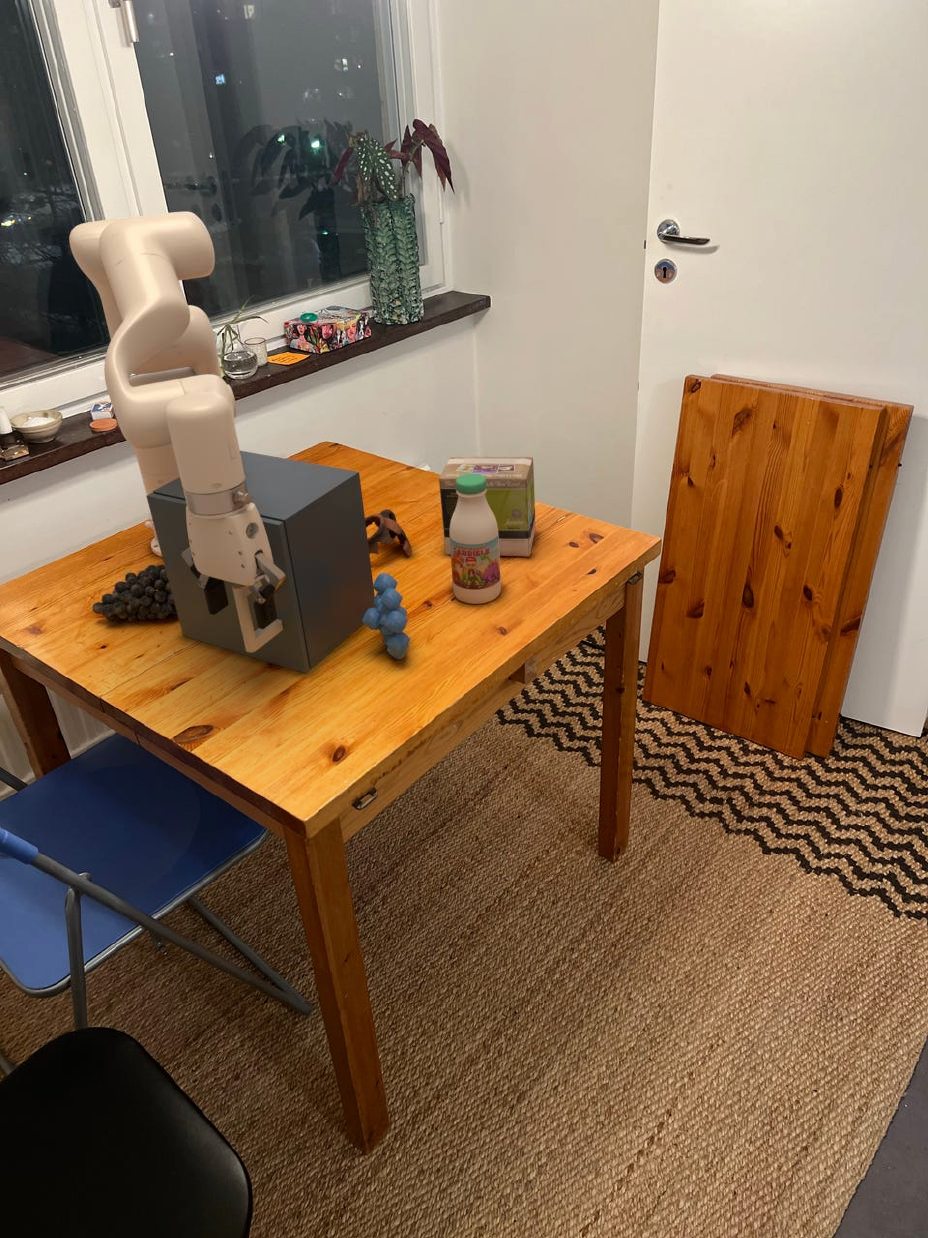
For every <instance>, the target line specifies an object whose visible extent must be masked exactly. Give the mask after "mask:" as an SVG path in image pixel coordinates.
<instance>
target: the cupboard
mask: <svg viewBox="0 0 928 1238" xmlns="http://www.w3.org/2000/svg"><path fill="white" fill-rule="evenodd" d="M240 454H241V459H242V464H243V469H244V475H245V479H246V484H247V489H248V493H250V494H251V495H252V501H251V503H254V504H255V506H256V508H257V510H258V512H259V514H260V517H263V518H267V519H272V520H277V521H281V522H284V528H285V533H286V539H287V545H288V550H289V556H290V561H291V567H292V572H293V578H294V584H295V589H296V595H297V600H298V606H299V611H300V617H301V623H302V628H303V634H304V639H305V645H306V651H307V656H308V662H309V667H310V670H313V669H314V668H315V667H316V666H317V665H318V664H320V663H321V662H322V661H323V660H324V659H326V658H327V657H328V656H329V655H330V654H331V653H332V652H334V651H335V650H336V649H337V648H339V646H341V645H342V644H343V643H344V642H345V641H346V640H348V638H350V637H351V636H352V635H353V634H354V633H356V632H357V631H358V630H359V629H360V628H361V627H362V626H364V625H365V624H364V623H363V622H362V620H363V617H364V615H365V613H366V611H367V610H368V609H369V608H375V607H376V605H375V604H374V598H375V596H376V594H375V589H374V588H373V584H374V578H373V571H372V570H373V569H372V562H371V556H370V555H371V553H370V554H369V546H368V538H369V537H368V531H367V528H366V522H365V518H366V515H365V507H364V500H363V492H362V483H361V475H360V471H356V470H352V469H351V470H350V469H345V468H339V467H335V466H329V465H322V464H317V463H312V462H306V461H300V460H295V459H291V458H283V457H278V456H273V455H267V454H261V453H256V452H250V451H245V450H240ZM153 494H158V495H162V496H167V497H172V498H176V499H181V500H185V501H186V499H185V495H184V491H183V487H182V483H181V479H180V477H179V478H177V479H175V480H173V481H171V482H169V483H167V484H165V485H163V486H162V487H160V488H158V489H156V490H154V491H153Z"/></svg>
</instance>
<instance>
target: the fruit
mask: <svg viewBox="0 0 928 1238" xmlns="http://www.w3.org/2000/svg"><path fill="white" fill-rule="evenodd" d="M124 580H125V581H120V580H119V581H117V582H116V583H115V584H114V589H113V590H112V593H109V592H108V593H104V594H103V595H102V596H101V601H97V602H95V603H93V604H92V606H91V607H92V609H91V610H92V611H93V613H94V614H96V615H102V616H103V617H105V619H106V621H109V622H111V623H114V622H116V621H117V620H125V619H128V621H129V622H131V623H136V622H137V621H138V620H139V619H140V620H141V621H142V620H146V619H147V618H149V619H155V618H157V619H158V620H165V619H167V616H168V615H171V614H173V615H177V611H176V607H175V603H174V599H173V596H172V592H171V588H170V584H169V580H168V577H167V573H166V569H165V565H164V564H156V565H154V564H150V565H147V566H146V568H144V570H141V571H139V572H138V574H136V573H135V572H127V573H126V574H125V575H124Z"/></svg>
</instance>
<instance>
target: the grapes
mask: <svg viewBox="0 0 928 1238" xmlns="http://www.w3.org/2000/svg"><path fill="white" fill-rule="evenodd" d="M397 586H398V580H396V579H395V578H394V577H393V576H392V575H390V574H389V573H379V574H378V575H377V577H375V580H374V581H373V588H374V591H376V594H375V598H374V604H375V605H376V607H375V608H369V609H368V610H367V611H366V613H365V615H364V617H363V620H362V622H363V623H364V625H365V626H366V627H367V628H369V629H370V630H371V631H377V630H378V631H379V632H380V633H379V634H380V635H382V636H383V639H382V643H383V644H384V645H385V646H386V651H387V653H388V654H389V655H391V657H393V658H394V659H396V660H402V659H404V658H405V656H406V655H407V652H408V649H409V648H410V645H409V644H410V642H411V638H410V637H409V636H408V635H407V634H406V633H405V632H404V631H405V629H406V626H407V624H408V621H409V619H408V618H407V614H408V611H407V609H405V608H404V607H403V606H402V605H401V604H402V601H403V600H404V599H403V598H404V596H403V595H402V594H401V593H400V592H399V591H398V590H396V588H397Z"/></svg>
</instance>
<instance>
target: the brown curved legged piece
mask: <svg viewBox="0 0 928 1238" xmlns="http://www.w3.org/2000/svg"><path fill="white" fill-rule="evenodd" d="M365 522H366V529H367V528H368V527H369V526H371V525H372V524H373V523H374V525H375V526H376V527H377V530H376V531H375V532H374V533H373V534H372V535H371V536H370V537H367V538H368V546H369V554H370V555H371V554H375V555H380V552H379V544H382V545H383V544H392V543H394V539H395V538H396V537H397V540H398V543H399V545H401V546H402V551H403V552H405V556H406V557H407V558H410V556H411V554H412V546H411V544H410V541H409V538H408V537H407V534H406V532H405V531H404V529H403V527H402V526H401V525H400V524H399V523H398V522H397V517H396V514H395V513H394V512H393V510H391V509H388V508H385V509H384V510H381V511H380V512H379V513H374V514H370V515H368V516H365Z"/></svg>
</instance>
